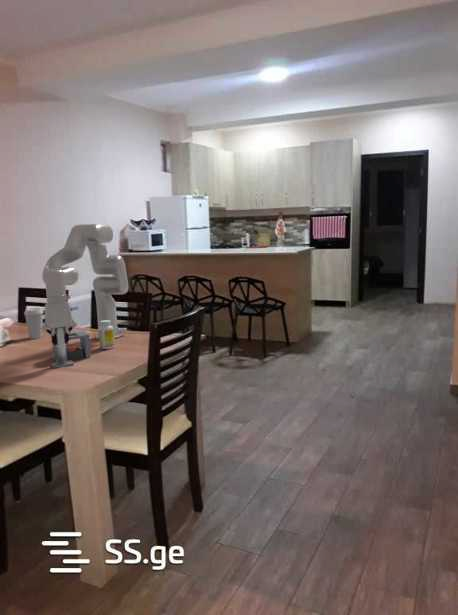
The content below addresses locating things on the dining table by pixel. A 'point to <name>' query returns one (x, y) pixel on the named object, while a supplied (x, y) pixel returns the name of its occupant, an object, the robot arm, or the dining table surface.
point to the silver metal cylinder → (61, 344)
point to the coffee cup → (34, 322)
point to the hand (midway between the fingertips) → (60, 343)
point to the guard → (80, 352)
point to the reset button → (71, 349)
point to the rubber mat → (62, 364)
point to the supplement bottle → (106, 335)
